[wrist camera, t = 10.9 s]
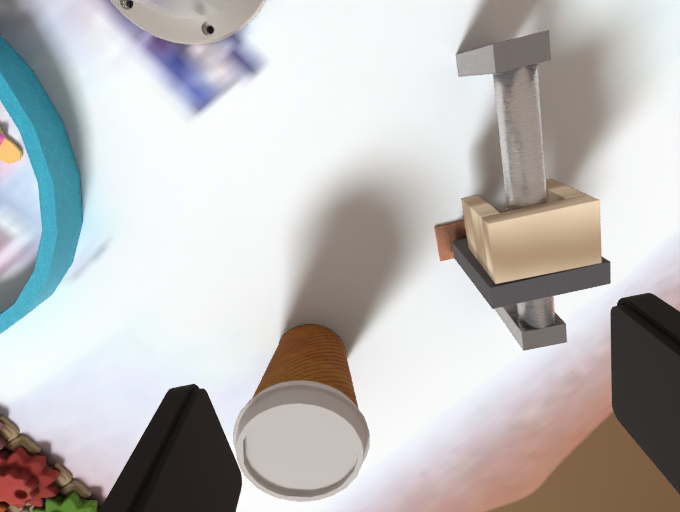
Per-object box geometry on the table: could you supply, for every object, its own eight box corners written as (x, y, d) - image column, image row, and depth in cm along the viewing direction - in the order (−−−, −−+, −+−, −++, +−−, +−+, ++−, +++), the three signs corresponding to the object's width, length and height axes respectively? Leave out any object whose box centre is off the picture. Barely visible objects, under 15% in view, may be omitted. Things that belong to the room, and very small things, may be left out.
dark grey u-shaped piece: (451, 241, 36) (490, 287, 27) (542, 220, 35) (610, 261, 27) (454, 258, 36) (492, 308, 28) (543, 238, 36) (610, 283, 27)
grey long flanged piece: (407, 67, 32) (429, 60, 24) (547, 31, 31) (616, 12, 23) (447, 306, 39) (473, 360, 31) (562, 282, 38) (618, 332, 30)
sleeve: (461, 198, 32) (488, 224, 26) (550, 178, 32) (599, 199, 25) (468, 248, 34) (495, 284, 27) (553, 230, 33) (601, 262, 27)
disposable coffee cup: (374, 381, 42) (387, 489, 30) (280, 405, 43) (259, 518, 31) (345, 295, 38) (346, 381, 27) (244, 323, 39) (205, 417, 28)
